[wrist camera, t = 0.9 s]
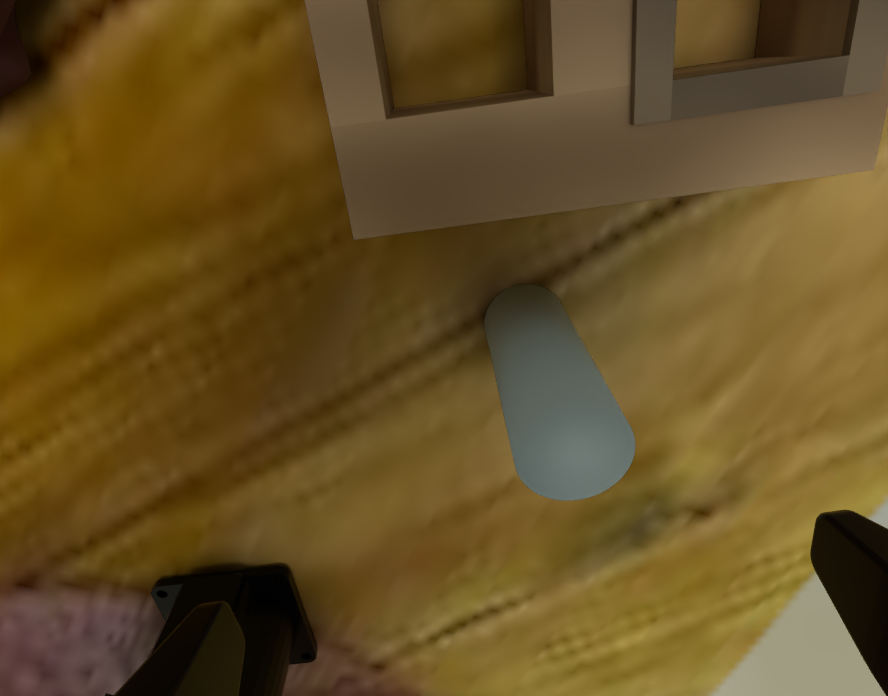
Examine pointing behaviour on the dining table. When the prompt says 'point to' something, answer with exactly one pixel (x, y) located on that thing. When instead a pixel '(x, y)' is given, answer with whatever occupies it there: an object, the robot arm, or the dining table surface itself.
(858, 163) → the socket block
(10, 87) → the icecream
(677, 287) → the dining table surface
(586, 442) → the dowel
